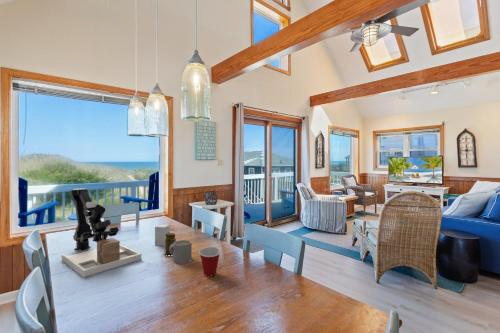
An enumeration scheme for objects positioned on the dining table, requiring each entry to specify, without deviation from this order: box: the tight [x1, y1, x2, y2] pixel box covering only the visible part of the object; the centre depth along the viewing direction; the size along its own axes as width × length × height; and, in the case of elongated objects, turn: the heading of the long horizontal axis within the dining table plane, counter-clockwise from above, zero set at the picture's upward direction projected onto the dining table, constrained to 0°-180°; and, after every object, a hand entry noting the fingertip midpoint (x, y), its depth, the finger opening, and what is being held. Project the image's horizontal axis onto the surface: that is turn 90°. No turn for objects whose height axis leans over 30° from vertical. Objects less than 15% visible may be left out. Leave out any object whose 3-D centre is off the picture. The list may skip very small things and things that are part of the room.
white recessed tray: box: [61, 243, 142, 278], centre depth 143 cm, size 34×29×3 cm
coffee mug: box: [170, 239, 193, 264], centre depth 144 cm, size 13×10×10 cm
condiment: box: [163, 232, 177, 258], centre depth 152 cm, size 7×8×12 cm
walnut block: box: [96, 237, 121, 264], centre depth 137 cm, size 9×8×11 cm
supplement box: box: [154, 224, 171, 247], centre depth 170 cm, size 7×7×13 cm
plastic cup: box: [198, 246, 222, 277], centre depth 125 cm, size 11×11×12 cm
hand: (104, 246), depth 140 cm, fingers closed, pressing on walnut block
